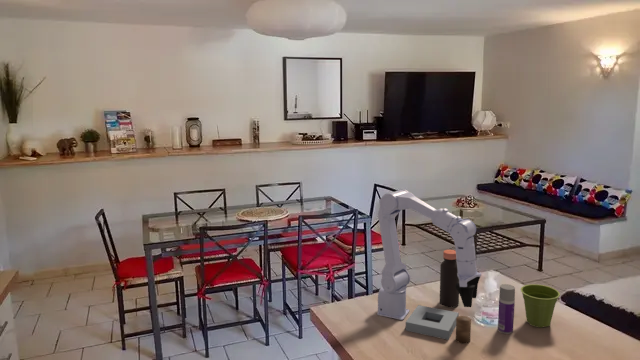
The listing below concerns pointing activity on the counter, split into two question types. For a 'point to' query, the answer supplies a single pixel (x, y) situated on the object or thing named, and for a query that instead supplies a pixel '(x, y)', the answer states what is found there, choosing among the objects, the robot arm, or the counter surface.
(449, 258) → the bottle
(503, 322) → the container
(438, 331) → the socket block
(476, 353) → the counter surface
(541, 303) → the plant pot
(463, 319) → the peg
